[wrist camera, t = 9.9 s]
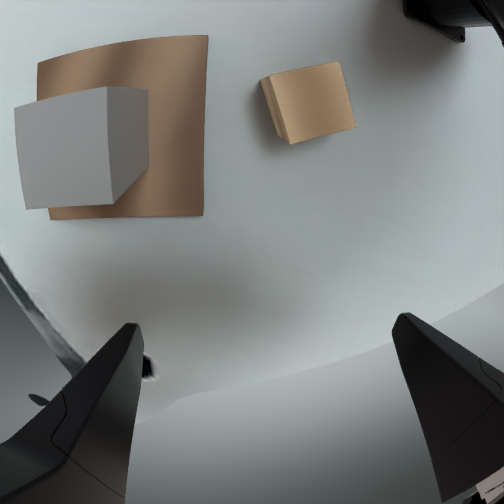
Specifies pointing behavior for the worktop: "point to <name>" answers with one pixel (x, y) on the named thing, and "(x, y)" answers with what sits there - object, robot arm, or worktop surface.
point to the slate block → (82, 146)
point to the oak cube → (308, 102)
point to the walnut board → (159, 118)
